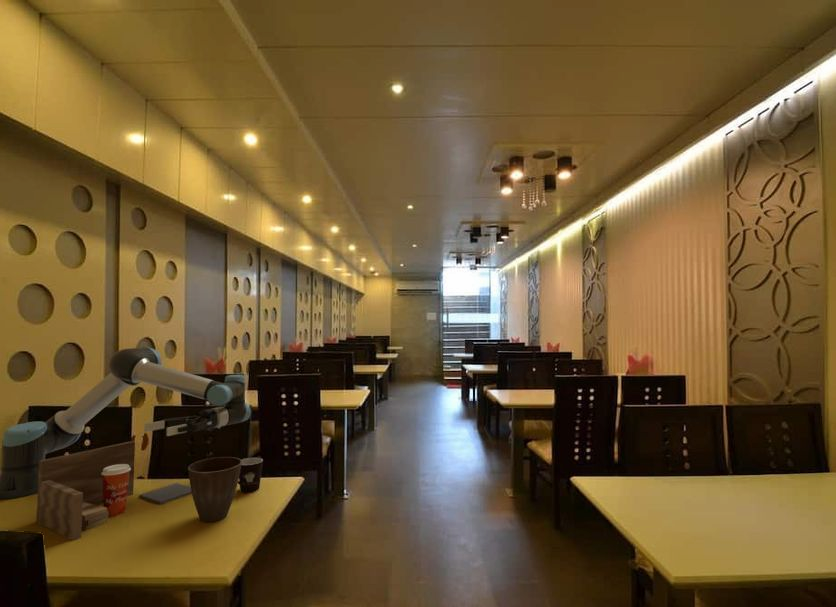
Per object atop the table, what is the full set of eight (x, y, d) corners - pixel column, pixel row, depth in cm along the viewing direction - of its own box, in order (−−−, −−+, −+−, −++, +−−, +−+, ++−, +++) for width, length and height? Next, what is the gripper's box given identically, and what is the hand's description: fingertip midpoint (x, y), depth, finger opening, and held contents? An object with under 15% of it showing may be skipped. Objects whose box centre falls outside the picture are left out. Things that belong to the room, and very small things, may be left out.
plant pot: (251, 510, 134) (252, 459, 135) (215, 531, 120) (216, 473, 121) (213, 504, 139) (214, 455, 140) (174, 524, 125) (176, 469, 126)
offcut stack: (56, 525, 125) (57, 510, 125) (81, 516, 131) (82, 501, 132) (84, 532, 121) (85, 516, 121) (109, 522, 127) (109, 506, 128)
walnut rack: (36, 521, 127) (39, 460, 128) (130, 492, 150) (132, 441, 151) (72, 540, 116) (75, 472, 117) (168, 506, 138) (170, 449, 139)
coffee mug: (266, 485, 156) (267, 457, 157) (255, 494, 147) (256, 465, 148) (236, 484, 157) (237, 457, 158) (223, 493, 149) (224, 464, 149)
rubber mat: (139, 497, 146) (139, 494, 146) (176, 485, 157) (176, 482, 157) (160, 504, 139) (160, 501, 139) (198, 491, 151) (198, 489, 151)
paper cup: (106, 519, 128) (108, 472, 129) (95, 514, 132) (96, 468, 133) (134, 510, 135) (136, 465, 136) (123, 505, 139) (124, 461, 140)
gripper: (233, 431, 157) (176, 445, 139) (192, 425, 169) (136, 436, 151) (233, 411, 158) (177, 422, 139) (193, 406, 170) (136, 415, 152)
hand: (155, 429), depth 145 cm, fingers open, 13 cm apart
